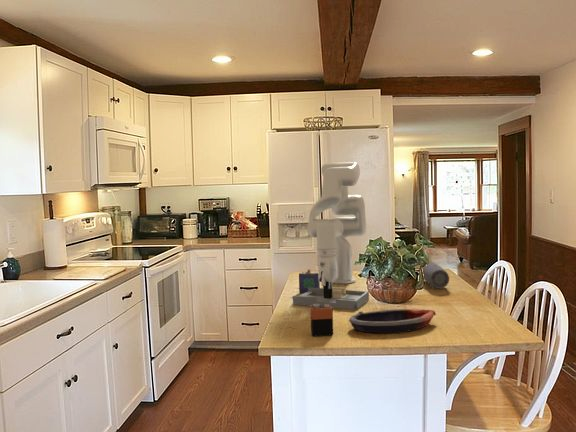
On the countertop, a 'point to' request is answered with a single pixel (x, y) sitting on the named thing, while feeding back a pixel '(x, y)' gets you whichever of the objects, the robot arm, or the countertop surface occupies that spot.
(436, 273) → the bluetooth speaker
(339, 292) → the beech block
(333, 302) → the board
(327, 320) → the battery
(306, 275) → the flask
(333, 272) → the robot arm
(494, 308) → the countertop surface
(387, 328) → the dish
